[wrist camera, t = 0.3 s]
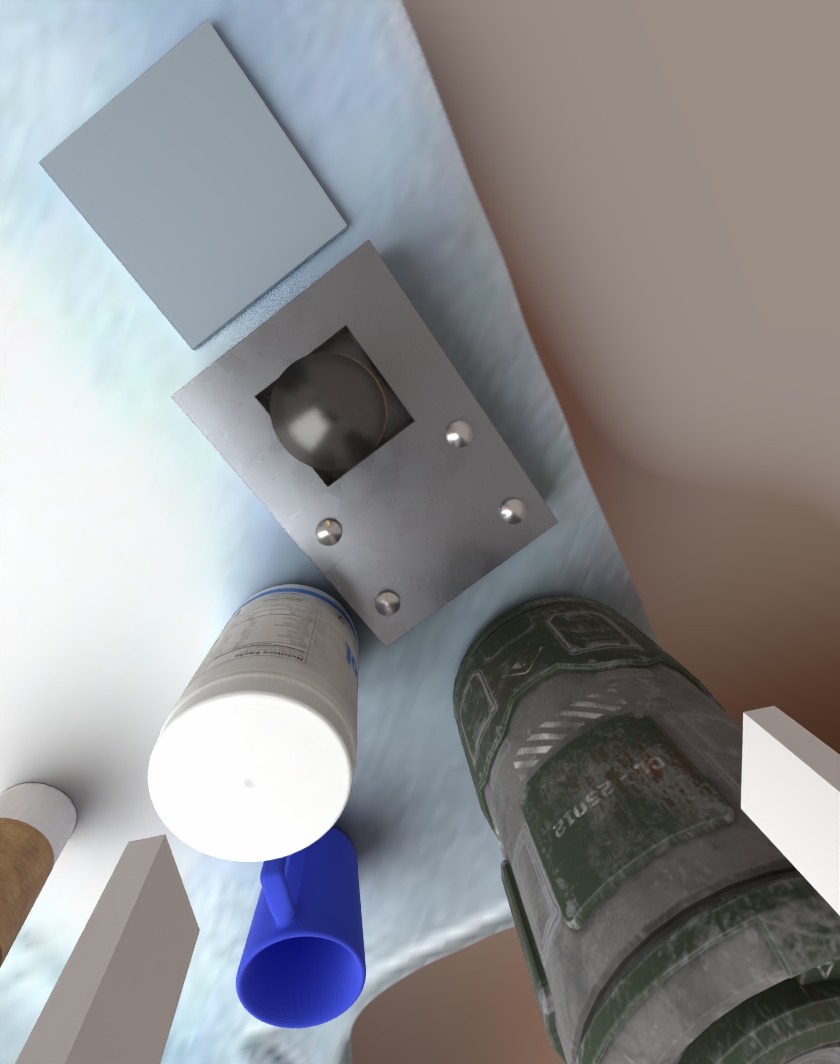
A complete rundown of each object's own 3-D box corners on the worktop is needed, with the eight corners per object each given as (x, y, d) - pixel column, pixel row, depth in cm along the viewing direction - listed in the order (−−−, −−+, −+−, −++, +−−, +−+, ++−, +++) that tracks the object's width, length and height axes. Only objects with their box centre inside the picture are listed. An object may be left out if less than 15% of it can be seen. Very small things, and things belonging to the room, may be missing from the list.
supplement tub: (365, 689, 39) (368, 852, 25) (239, 707, 39) (169, 886, 25) (349, 570, 37) (342, 677, 23) (214, 586, 36) (119, 708, 22)
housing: (193, 396, 33) (168, 396, 29) (367, 258, 32) (368, 237, 28) (383, 622, 38) (386, 650, 34) (537, 509, 37) (560, 523, 33)
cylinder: (281, 398, 33) (243, 399, 22) (345, 348, 33) (338, 325, 22) (332, 464, 34) (320, 493, 24) (395, 416, 34) (410, 424, 23)
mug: (340, 759, 41) (334, 871, 31) (374, 876, 44) (378, 1010, 34) (237, 785, 40) (198, 906, 31) (279, 901, 44) (256, 1043, 34)
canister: (631, 567, 39) (1218, 938, 12) (652, 740, 44) (1121, 1293, 17) (430, 619, 39) (590, 1133, 12) (471, 789, 43) (657, 1452, 16)
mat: (44, 167, 29) (38, 162, 28) (210, 26, 28) (207, 19, 28) (195, 350, 32) (192, 349, 32) (347, 228, 31) (347, 225, 31)
